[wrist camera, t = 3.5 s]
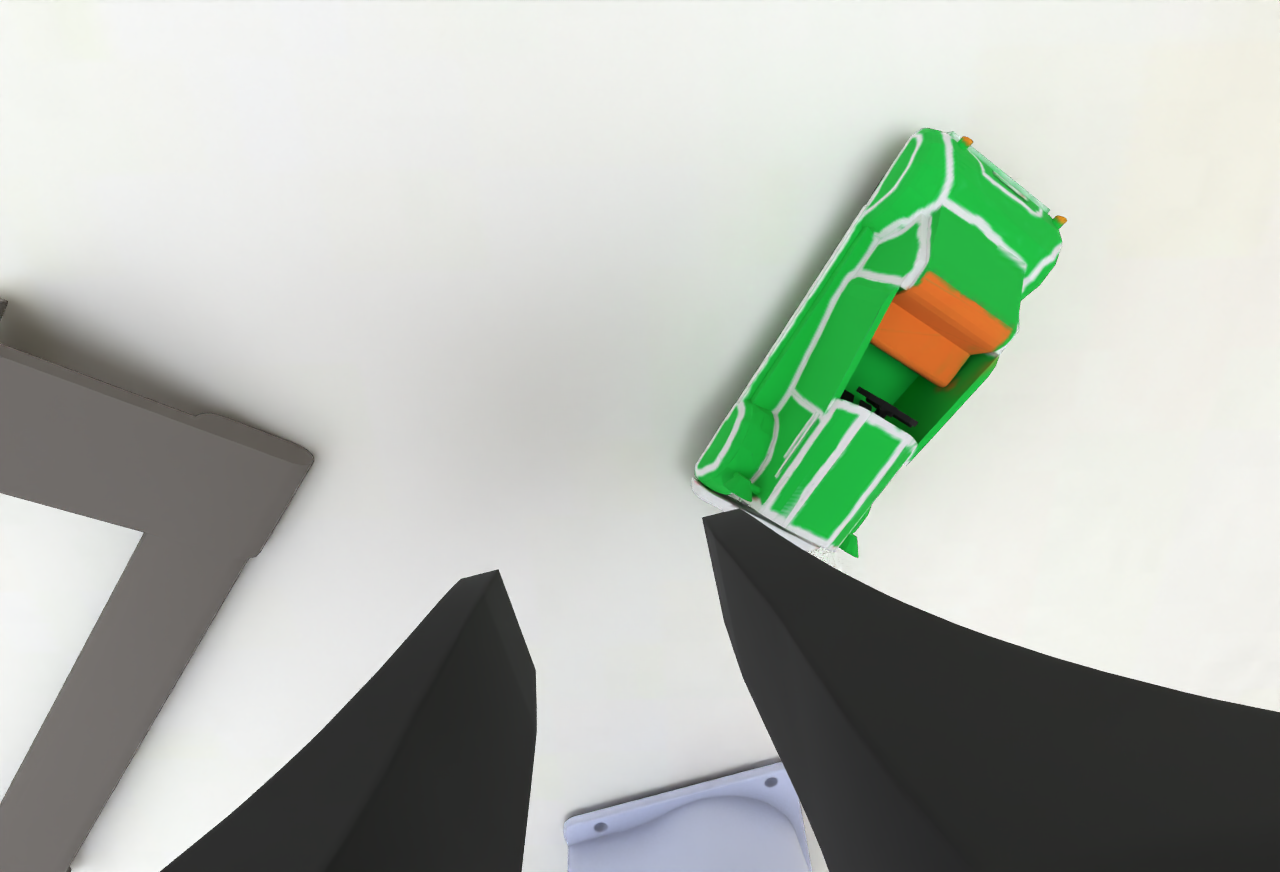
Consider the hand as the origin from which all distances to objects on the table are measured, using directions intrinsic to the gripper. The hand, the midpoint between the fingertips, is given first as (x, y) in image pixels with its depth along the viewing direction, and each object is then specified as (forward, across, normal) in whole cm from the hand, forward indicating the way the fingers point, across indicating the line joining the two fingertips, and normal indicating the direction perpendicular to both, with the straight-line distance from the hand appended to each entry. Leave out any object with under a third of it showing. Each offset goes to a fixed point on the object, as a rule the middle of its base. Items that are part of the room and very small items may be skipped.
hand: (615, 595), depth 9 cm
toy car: (+10, -8, 0) cm, 12 cm away
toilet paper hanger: (+10, +19, +2) cm, 22 cm away
